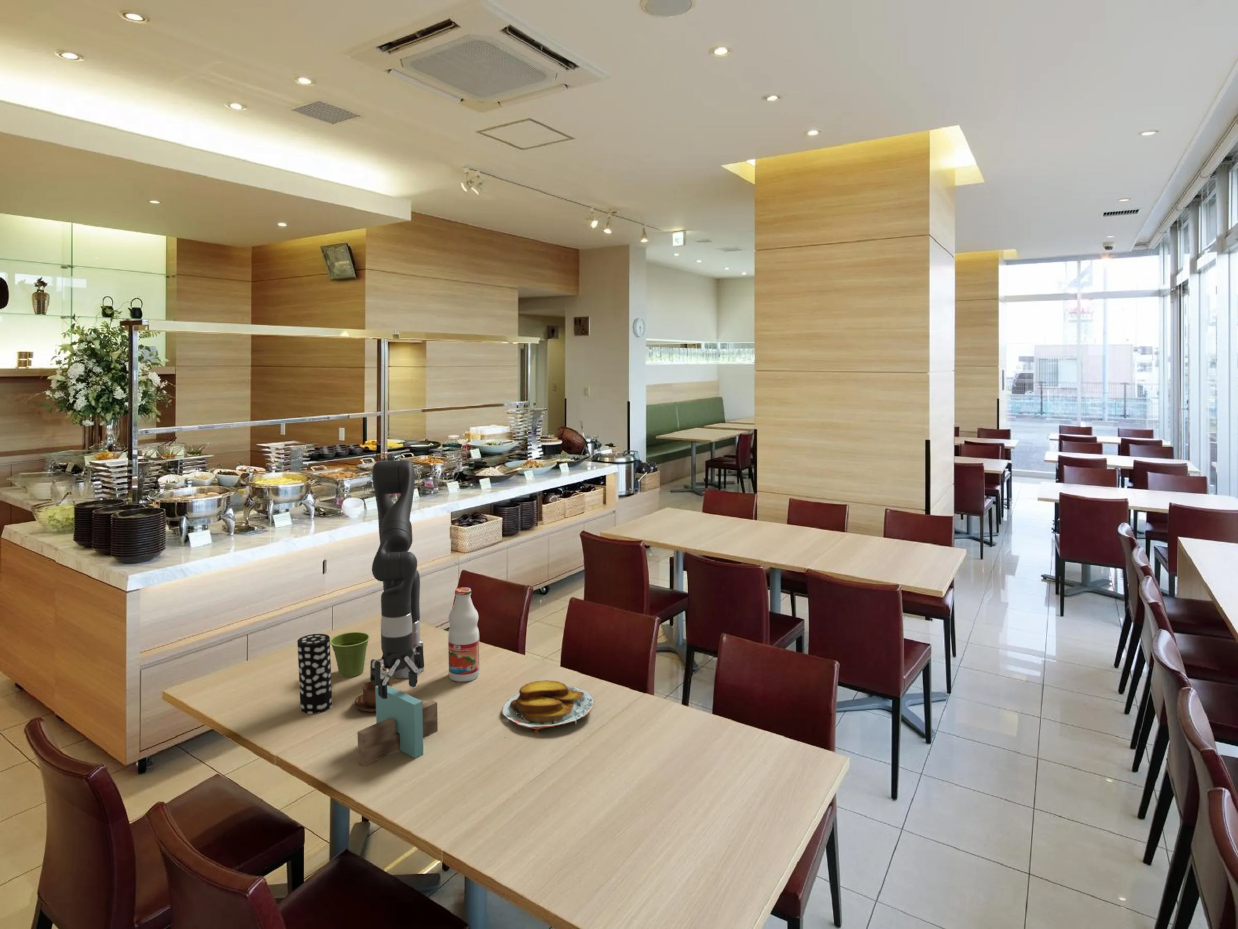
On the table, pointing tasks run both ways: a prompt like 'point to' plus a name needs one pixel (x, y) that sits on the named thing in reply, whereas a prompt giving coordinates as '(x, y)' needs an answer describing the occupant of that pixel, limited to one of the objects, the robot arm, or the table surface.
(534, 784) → the table surface
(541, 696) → the food on plate
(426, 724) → the walnut board
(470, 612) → the fruit juice
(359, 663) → the plant pot
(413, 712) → the teal plate
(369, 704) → the cup and saucer
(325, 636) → the spotted tube
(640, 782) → the table surface
